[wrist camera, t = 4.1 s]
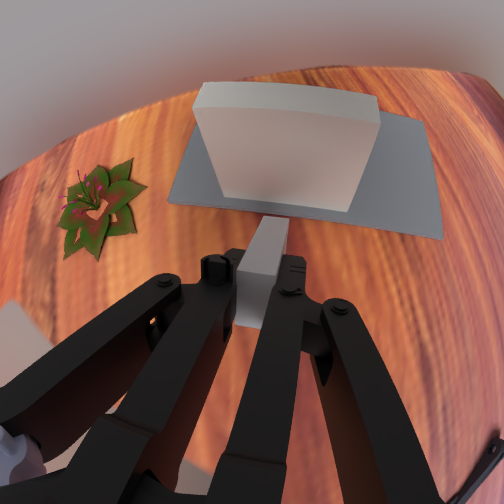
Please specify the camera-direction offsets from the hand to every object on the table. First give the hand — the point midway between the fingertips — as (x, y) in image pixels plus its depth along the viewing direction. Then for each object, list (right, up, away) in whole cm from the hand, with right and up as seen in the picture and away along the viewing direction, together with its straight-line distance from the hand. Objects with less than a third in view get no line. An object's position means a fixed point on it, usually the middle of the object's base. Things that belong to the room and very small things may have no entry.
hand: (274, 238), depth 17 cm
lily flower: (-17, +3, +9) cm, 19 cm away
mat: (+4, +8, +8) cm, 12 cm away
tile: (+2, +4, +6) cm, 7 cm away
